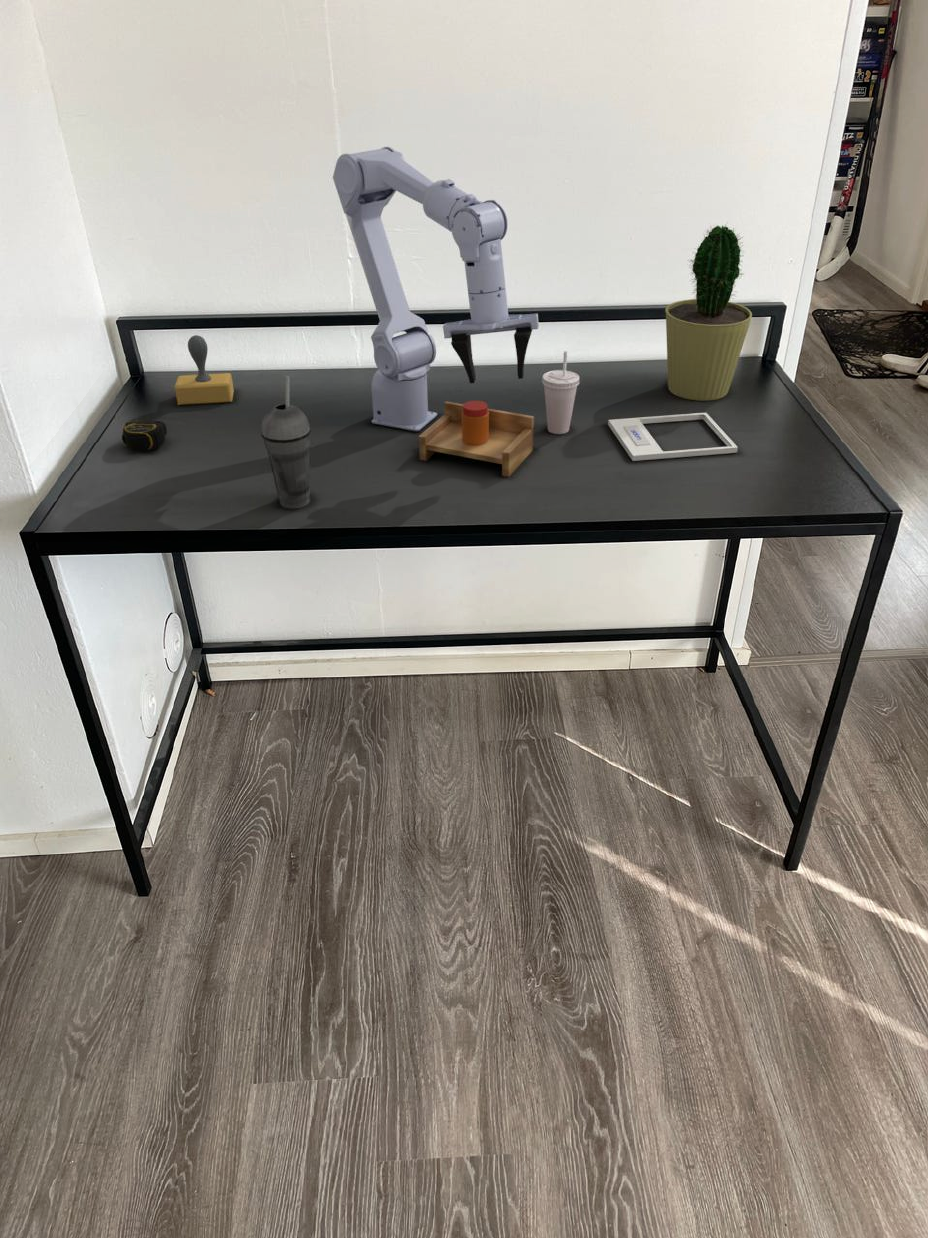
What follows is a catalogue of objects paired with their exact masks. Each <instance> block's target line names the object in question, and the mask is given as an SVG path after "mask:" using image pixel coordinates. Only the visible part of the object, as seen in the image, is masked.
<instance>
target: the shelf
mask: <svg viewBox="0 0 928 1238" xmlns="http://www.w3.org/2000/svg"><path fill="white" fill-rule="evenodd" d="M463 404H464V403H459V402H454V401H447V400H446V401H445V402H444V414H443V415H442V416H440V418H438V419H437V420H436V421H435V422H434V423H433V424H431V425H430V426H429V427H428V428H426V429H425V430H424V431H423V432H422V433H420V435H418V448H419V450H418V451H419V460H421V461H428V460H429V459H430V458H431V457H432V456H433V455H434V454H435V453H442V454H447V455H451V456H452V455H453V456H457V457H461V458H468V459H473V460H478V461H482V462H488V463H494V464H497V465H498V464H499V465H501V476H502V477H506V478H510V476H511V475H512V474H513V473H514V472H515V471H516V470H517V468H519V467H520V466H521V464H522V463H523V462H524V461H525V460H526V459H527V458H528V457H529V455H530V454H531V453H532V452H533V451H534V428H535V427H534V424H535V416H534V415H528V414H522V413H517V412H510V411H506V410H499V409H495V408H488V412H489V440H488V442H487V443H485V444H482V445H468V444H466V443H464V442H463V441H462V411H463Z"/></svg>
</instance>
